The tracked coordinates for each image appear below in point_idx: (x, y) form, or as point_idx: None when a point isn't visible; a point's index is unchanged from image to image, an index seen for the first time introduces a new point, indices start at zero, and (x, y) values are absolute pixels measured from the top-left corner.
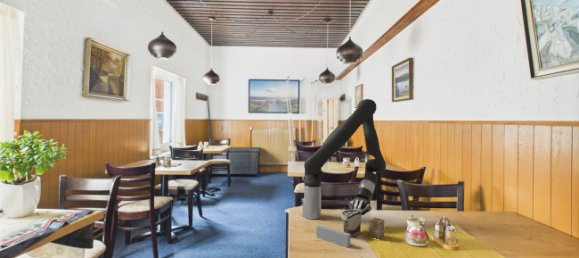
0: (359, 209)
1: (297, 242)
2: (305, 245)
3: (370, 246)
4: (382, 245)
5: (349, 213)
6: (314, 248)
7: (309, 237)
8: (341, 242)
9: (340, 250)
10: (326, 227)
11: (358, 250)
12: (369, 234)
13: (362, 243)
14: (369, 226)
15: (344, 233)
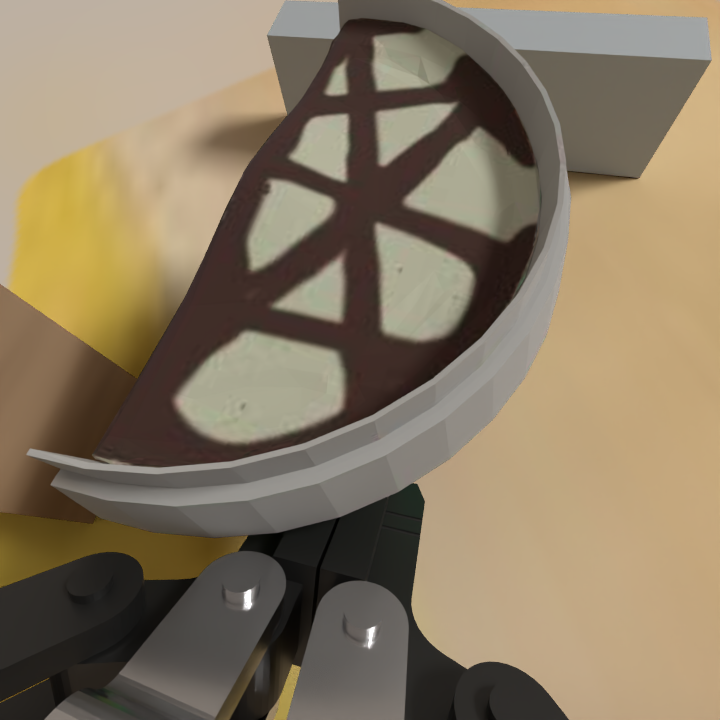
0: (118, 686)
1: (692, 13)
2: (602, 9)
3: (134, 206)
4: (30, 270)
5: (387, 219)
6: (516, 8)
7: (691, 112)
8: None
9: None
10: (583, 44)
11: (220, 113)
12: (128, 376)
13: (205, 225)
14: (57, 326)
15: (327, 20)
